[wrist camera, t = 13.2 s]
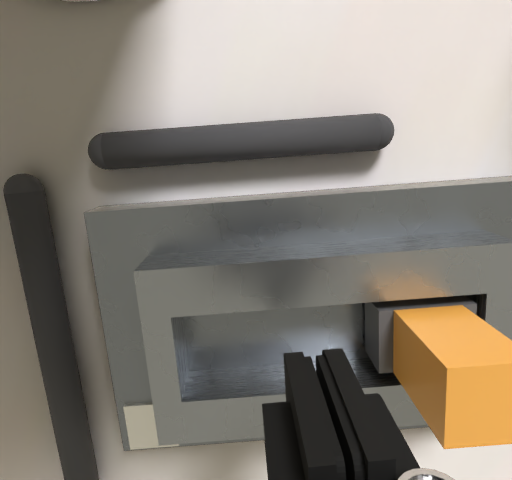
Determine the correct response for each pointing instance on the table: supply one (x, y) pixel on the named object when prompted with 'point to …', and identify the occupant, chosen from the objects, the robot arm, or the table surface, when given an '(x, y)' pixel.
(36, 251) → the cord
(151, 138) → the rod
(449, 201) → the panel
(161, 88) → the table surface
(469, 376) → the breaker lever
